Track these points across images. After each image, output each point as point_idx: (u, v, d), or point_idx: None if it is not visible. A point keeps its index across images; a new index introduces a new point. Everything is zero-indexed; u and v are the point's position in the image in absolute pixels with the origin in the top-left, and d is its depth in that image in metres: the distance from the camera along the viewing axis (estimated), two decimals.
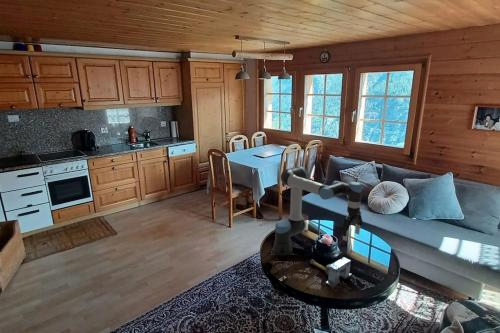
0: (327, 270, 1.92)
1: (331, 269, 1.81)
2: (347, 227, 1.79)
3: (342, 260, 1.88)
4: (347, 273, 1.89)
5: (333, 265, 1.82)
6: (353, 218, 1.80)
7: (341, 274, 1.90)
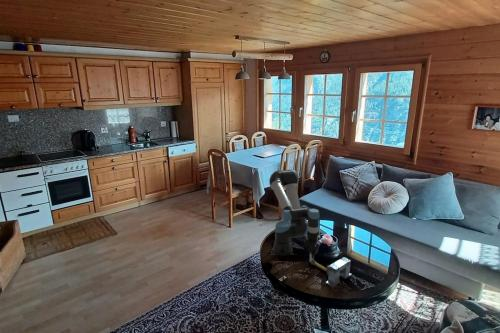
0: (328, 271, 1.91)
1: (331, 269, 1.81)
2: (309, 248, 2.03)
3: (342, 260, 1.88)
4: (347, 273, 1.89)
5: (333, 265, 1.82)
6: (308, 240, 2.01)
7: (341, 274, 1.90)
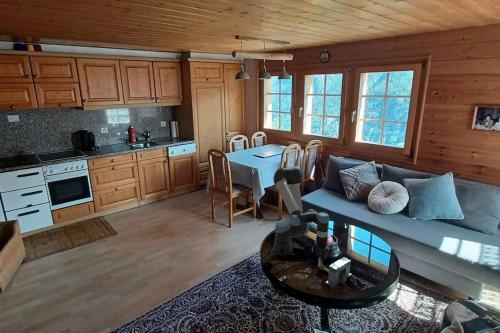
0: None
1: (331, 269, 1.81)
2: (317, 253, 1.97)
3: (342, 260, 1.88)
4: (347, 273, 1.89)
5: (333, 265, 1.82)
6: (317, 245, 1.95)
7: None
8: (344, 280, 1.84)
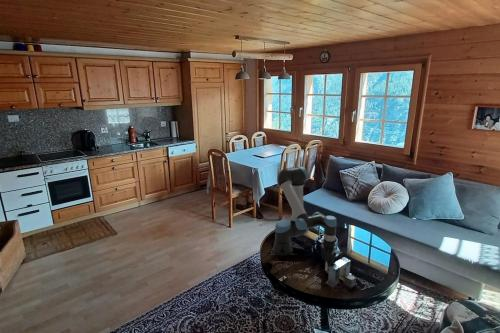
0: (346, 281, 1.81)
1: (331, 269, 1.81)
2: (324, 257, 1.93)
3: (342, 260, 1.88)
4: (347, 273, 1.89)
5: (333, 265, 1.82)
6: (324, 248, 1.91)
7: (341, 274, 1.90)
8: (352, 284, 1.79)
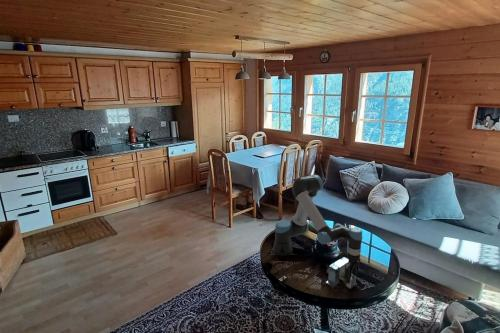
0: (346, 281, 1.81)
1: (331, 269, 1.81)
2: (350, 275, 1.76)
3: (342, 260, 1.88)
4: None
5: (333, 265, 1.82)
6: (353, 265, 1.75)
7: (341, 274, 1.90)
8: (352, 285, 1.79)
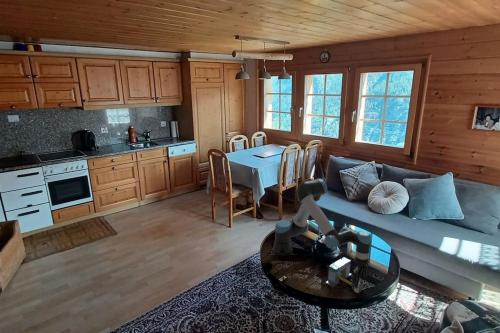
0: (353, 285, 1.77)
1: (331, 269, 1.81)
2: (358, 280, 1.72)
3: (342, 260, 1.88)
4: (347, 273, 1.89)
5: (333, 265, 1.82)
6: (361, 270, 1.71)
7: (341, 274, 1.90)
8: (360, 289, 1.75)
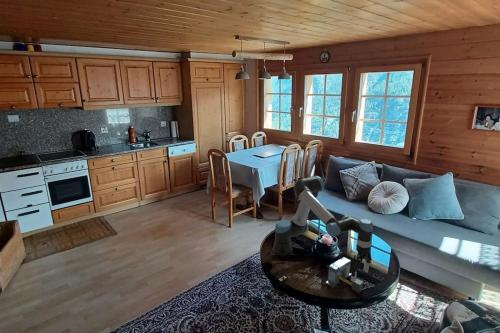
0: (353, 285, 1.77)
1: (331, 269, 1.81)
2: (356, 267, 1.67)
3: (342, 260, 1.88)
4: (347, 273, 1.89)
5: (333, 265, 1.82)
6: (362, 258, 1.68)
7: (341, 274, 1.90)
8: (360, 289, 1.75)
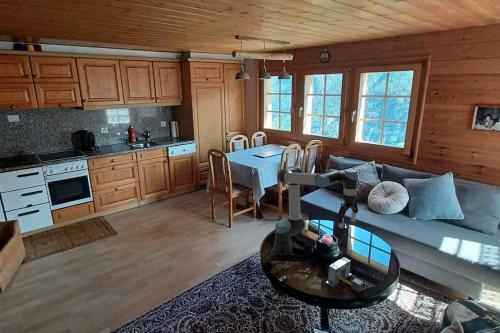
0: (353, 285, 1.77)
1: (331, 269, 1.81)
2: (343, 214, 1.81)
3: (342, 260, 1.88)
4: (347, 273, 1.89)
5: (333, 265, 1.82)
6: (349, 205, 1.81)
7: (341, 274, 1.90)
8: (360, 289, 1.75)
